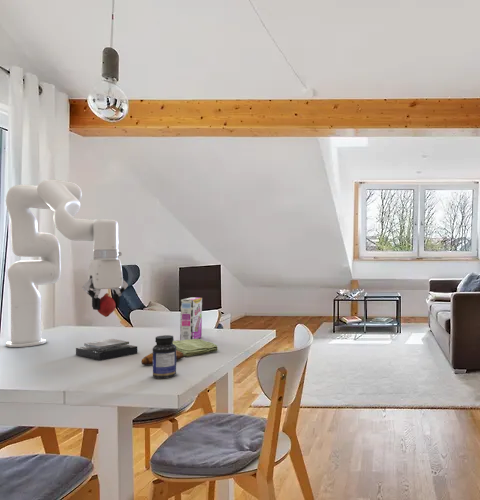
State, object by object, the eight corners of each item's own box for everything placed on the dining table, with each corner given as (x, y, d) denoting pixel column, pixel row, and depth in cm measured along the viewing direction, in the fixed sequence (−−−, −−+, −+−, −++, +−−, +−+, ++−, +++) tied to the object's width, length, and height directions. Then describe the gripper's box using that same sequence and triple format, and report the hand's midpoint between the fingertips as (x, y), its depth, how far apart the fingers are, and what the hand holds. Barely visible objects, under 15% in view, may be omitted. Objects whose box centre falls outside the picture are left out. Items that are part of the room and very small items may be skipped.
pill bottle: (156, 373, 136) (156, 334, 136) (178, 373, 136) (178, 334, 136) (149, 379, 129) (149, 338, 130) (172, 378, 130) (172, 338, 130)
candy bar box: (192, 342, 183) (192, 299, 183) (179, 342, 183) (179, 299, 183) (202, 337, 194) (202, 297, 194) (190, 337, 194) (190, 297, 194)
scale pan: (84, 345, 161) (84, 343, 161) (113, 341, 169) (112, 338, 169) (100, 348, 155) (100, 346, 155) (129, 343, 163) (129, 341, 163)
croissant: (147, 368, 142) (147, 351, 142) (136, 364, 147) (136, 348, 147) (188, 360, 152) (188, 344, 152) (177, 357, 157) (177, 342, 157)
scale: (75, 355, 161) (75, 346, 161) (113, 348, 172) (113, 340, 172) (99, 360, 152) (99, 351, 152) (137, 353, 163) (137, 345, 163)
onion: (107, 318, 159) (107, 294, 159) (92, 317, 160) (92, 293, 160) (119, 315, 164) (119, 292, 164) (104, 315, 165) (104, 292, 165)
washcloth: (184, 358, 156) (184, 348, 156) (162, 350, 169) (162, 340, 169) (220, 352, 165) (220, 342, 165) (197, 345, 178) (197, 336, 178)
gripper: (123, 255, 171) (123, 305, 171) (74, 255, 157) (74, 310, 157) (135, 255, 167) (136, 306, 167) (85, 255, 153) (86, 312, 153)
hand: (106, 308), depth 162 cm, fingers closed on onion, 5 cm apart
